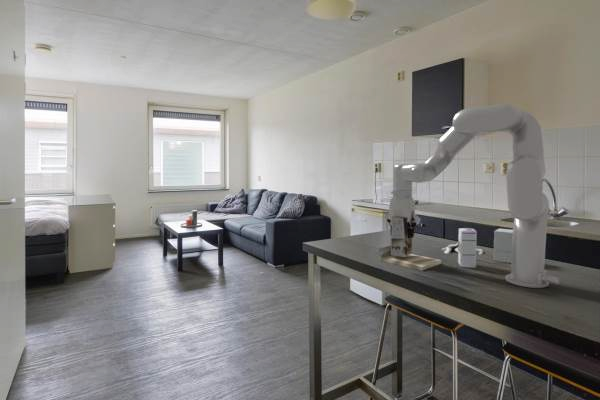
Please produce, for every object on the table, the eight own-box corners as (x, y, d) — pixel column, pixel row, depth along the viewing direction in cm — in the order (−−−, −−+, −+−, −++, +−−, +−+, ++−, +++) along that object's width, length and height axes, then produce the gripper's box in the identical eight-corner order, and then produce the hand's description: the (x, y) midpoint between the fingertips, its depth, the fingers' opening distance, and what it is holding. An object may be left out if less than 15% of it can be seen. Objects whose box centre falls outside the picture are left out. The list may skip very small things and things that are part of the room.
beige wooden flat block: (441, 263, 149) (441, 250, 149) (421, 270, 140) (422, 256, 140) (397, 254, 165) (397, 242, 164) (377, 260, 156) (378, 247, 155)
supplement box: (517, 260, 154) (519, 230, 152) (512, 263, 148) (514, 232, 147) (497, 257, 159) (499, 227, 157) (492, 260, 153) (493, 230, 152)
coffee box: (406, 257, 150) (406, 217, 148) (390, 255, 153) (391, 216, 151) (412, 252, 157) (413, 214, 156) (397, 250, 161) (398, 213, 159)
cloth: (455, 245, 183) (456, 233, 183) (492, 253, 168) (493, 239, 167) (426, 251, 171) (426, 238, 170) (463, 260, 156) (463, 246, 155)
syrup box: (476, 267, 143) (477, 230, 142) (460, 267, 144) (461, 230, 143) (472, 263, 149) (474, 228, 147) (457, 263, 150) (458, 227, 148)
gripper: (379, 193, 157) (379, 234, 159) (416, 196, 144) (415, 240, 145) (390, 192, 162) (390, 232, 163) (426, 194, 148) (425, 238, 150)
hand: (401, 236), depth 154 cm, fingers closed on coffee box, 7 cm apart
